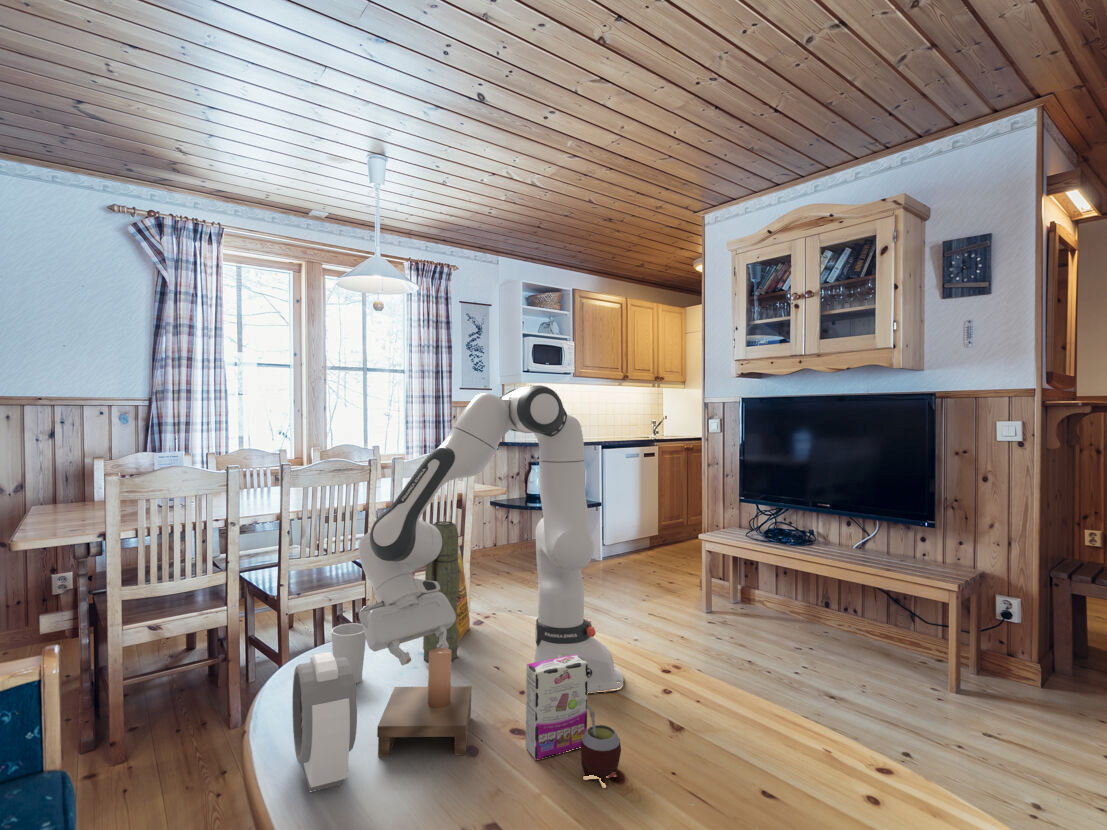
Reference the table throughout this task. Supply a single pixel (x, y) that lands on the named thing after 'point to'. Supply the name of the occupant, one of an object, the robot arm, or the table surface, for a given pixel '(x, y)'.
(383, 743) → the walnut shelf
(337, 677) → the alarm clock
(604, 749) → the mate gourd
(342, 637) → the cup
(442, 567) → the thermos
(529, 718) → the candy bar box
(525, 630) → the table surface
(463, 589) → the pancake mix bag
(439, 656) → the peach cylinder
